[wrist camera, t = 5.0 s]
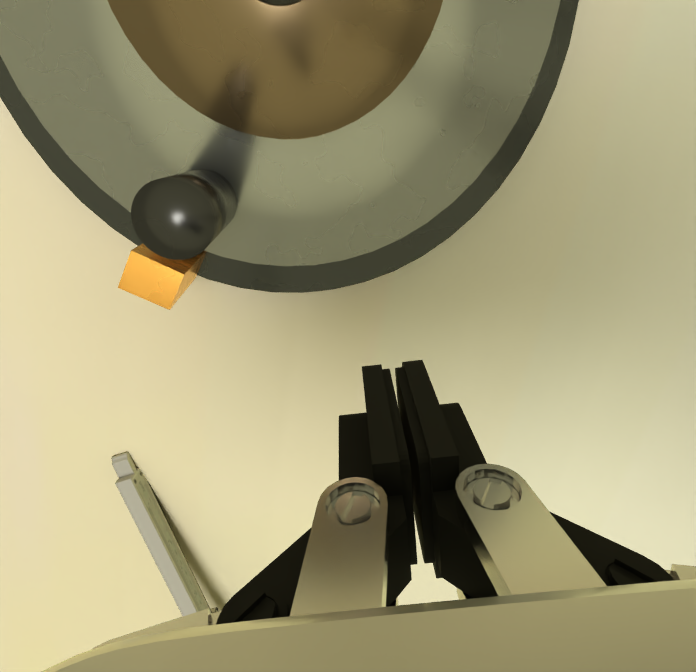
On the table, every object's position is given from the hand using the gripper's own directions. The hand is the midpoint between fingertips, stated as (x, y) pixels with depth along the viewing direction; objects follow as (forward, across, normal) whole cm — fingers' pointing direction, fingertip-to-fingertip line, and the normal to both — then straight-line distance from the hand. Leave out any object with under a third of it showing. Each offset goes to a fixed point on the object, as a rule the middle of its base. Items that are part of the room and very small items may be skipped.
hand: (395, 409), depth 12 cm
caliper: (+12, +14, +19) cm, 26 cm away
